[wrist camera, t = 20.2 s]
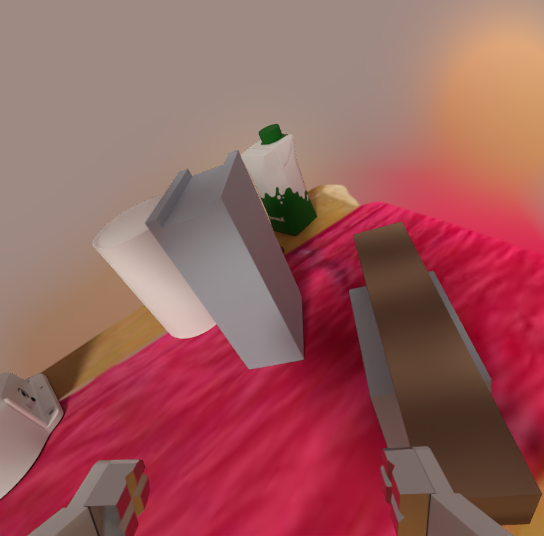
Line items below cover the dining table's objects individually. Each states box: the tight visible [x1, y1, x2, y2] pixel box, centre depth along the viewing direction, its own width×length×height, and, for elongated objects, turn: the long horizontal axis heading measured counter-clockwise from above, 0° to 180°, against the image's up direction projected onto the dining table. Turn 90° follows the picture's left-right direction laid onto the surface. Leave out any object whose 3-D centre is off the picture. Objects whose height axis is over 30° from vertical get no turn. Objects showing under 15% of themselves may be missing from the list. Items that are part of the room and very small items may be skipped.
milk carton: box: [241, 124, 317, 236], centre depth 64 cm, size 9×9×20 cm
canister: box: [93, 195, 216, 338], centre depth 54 cm, size 14×14×20 cm
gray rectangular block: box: [349, 271, 492, 448], centre depth 28 cm, size 10×7×15 cm
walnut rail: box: [353, 222, 542, 525], centre depth 21 cm, size 19×4×4 cm, turn 178°
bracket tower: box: [145, 150, 304, 369], centre depth 41 cm, size 12×8×25 cm, turn 178°
